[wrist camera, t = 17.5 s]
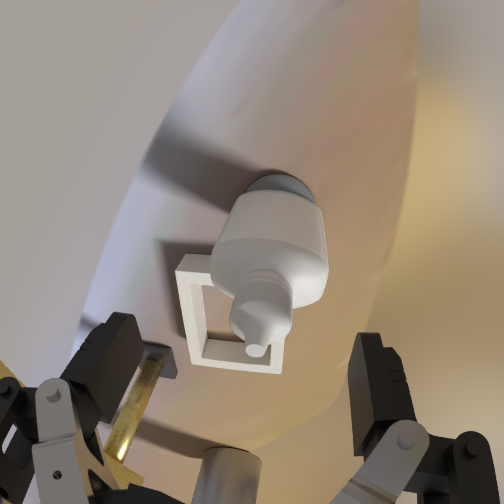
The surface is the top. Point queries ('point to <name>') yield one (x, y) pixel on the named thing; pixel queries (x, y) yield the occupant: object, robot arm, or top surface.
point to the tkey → (123, 421)
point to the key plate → (160, 359)
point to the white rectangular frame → (200, 347)
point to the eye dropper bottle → (269, 264)
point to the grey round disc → (282, 185)
